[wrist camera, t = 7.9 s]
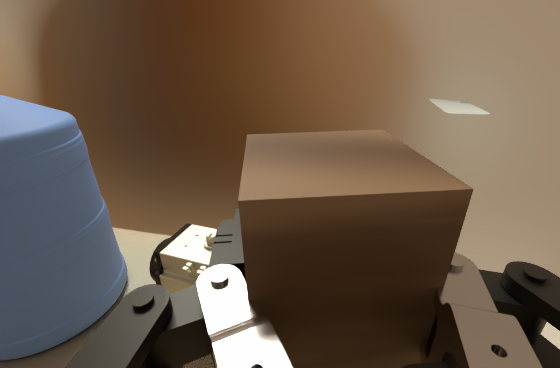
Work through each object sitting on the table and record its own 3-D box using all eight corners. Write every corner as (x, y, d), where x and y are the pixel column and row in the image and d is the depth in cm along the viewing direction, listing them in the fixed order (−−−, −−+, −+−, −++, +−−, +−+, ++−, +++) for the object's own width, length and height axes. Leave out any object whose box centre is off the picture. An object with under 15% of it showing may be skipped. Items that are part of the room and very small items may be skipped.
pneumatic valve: (192, 299, 34) (173, 211, 28) (287, 327, 30) (284, 231, 25) (159, 340, 29) (129, 243, 24) (267, 380, 25) (258, 274, 20)
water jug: (155, 266, 39) (91, 35, 27) (42, 385, 25) (-188, 24, 13) (66, 250, 43) (-24, 42, 31) (-74, 345, 29) (-332, 38, 17)
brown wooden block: (399, 435, 10) (473, 188, 6) (261, 448, 10) (238, 201, 6) (357, 318, 15) (382, 129, 11) (261, 325, 15) (247, 134, 10)
